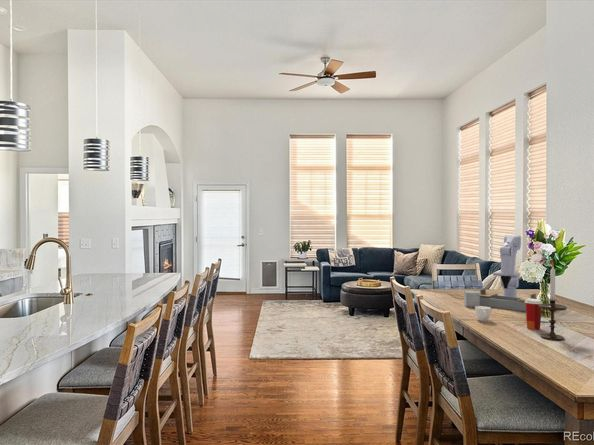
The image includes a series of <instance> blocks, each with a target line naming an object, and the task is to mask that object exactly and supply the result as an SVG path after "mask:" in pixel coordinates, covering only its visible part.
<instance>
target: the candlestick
mask: <svg viewBox="0 0 594 445" xmlns="http://www.w3.org/2000/svg"><path fill="white" fill-rule="evenodd" d="M550 262H551V269H550V275H549V276H550V284H549V286H550V288H549V290H550V292H549V298H548V299H547V300H548V301H549V303H543V304H539V308H542V310H548V312H550V319H548V323H550V325H549V326H548V327H549V328H550V331H549V333H541V334H540V338H541V339H544V340H549V341H555V342H557V341H559V342H563V341H564V340H565V337H564V336H563V335H560V334H556V332H555V329H556V326H555V324H556V323H557V321H556V320H555V313H556V312H558V311H562V312H563V311H566V310H567V305H566V306H565V305H564V304H557V303H556V301H558V299H556V269H555V268H554V265H555V263H554V261H553V260H551V261H550Z"/></svg>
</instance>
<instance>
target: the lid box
mask: <svg viewBox="0 0 594 445" xmlns="http://www.w3.org/2000/svg"><path fill="white" fill-rule="evenodd" d="M521 298H522V297H518V296H517V297H510V296H503V295H500V294H499V295H495V296H493V297H490V298H486V297H480V306H486V307H490V308H494V309H495V308H497V309H505V310H512V311H519V312H526V303H525V302H521V301H518V299H521Z"/></svg>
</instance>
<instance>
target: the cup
mask: <svg viewBox="0 0 594 445" xmlns="http://www.w3.org/2000/svg"><path fill="white" fill-rule="evenodd" d="M474 311H475V316H476V318H477V320H478V321H480V322H488V320H490V317H491V315H492V307H487V306H476V307H474Z"/></svg>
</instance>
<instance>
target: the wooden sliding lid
mask: <svg viewBox="0 0 594 445" xmlns="http://www.w3.org/2000/svg"><path fill="white" fill-rule="evenodd" d="M479 291H480V292H479V293H480V297H486V298H490V297H493V296H495V295H498V293H497V292H487V291H486V288H481V289H480V290H479Z"/></svg>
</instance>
